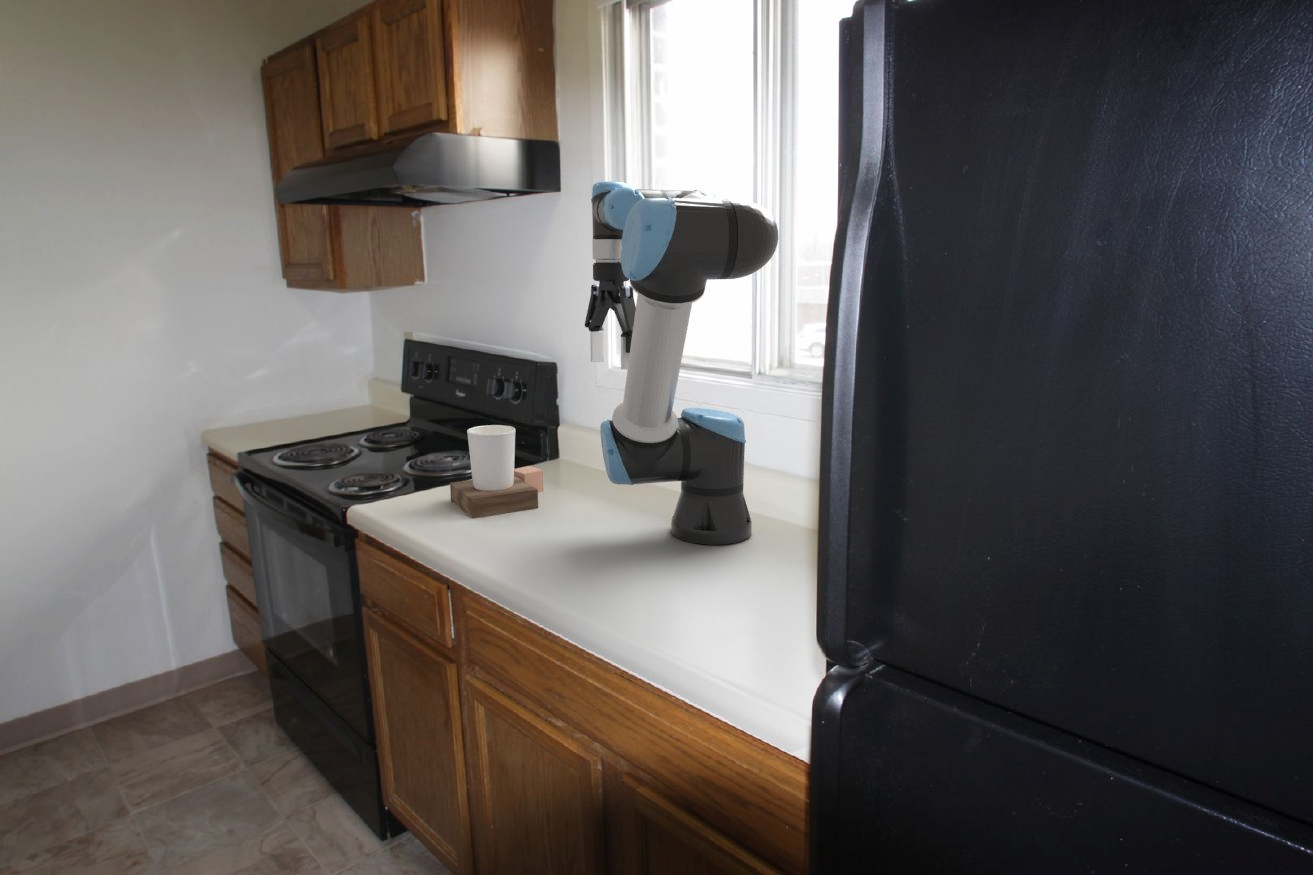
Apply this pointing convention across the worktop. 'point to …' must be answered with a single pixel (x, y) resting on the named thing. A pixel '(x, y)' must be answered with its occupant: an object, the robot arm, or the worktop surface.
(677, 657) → the worktop surface
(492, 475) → the white cup
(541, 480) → the terracotta cube
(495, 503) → the walnut slab
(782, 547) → the worktop surface
